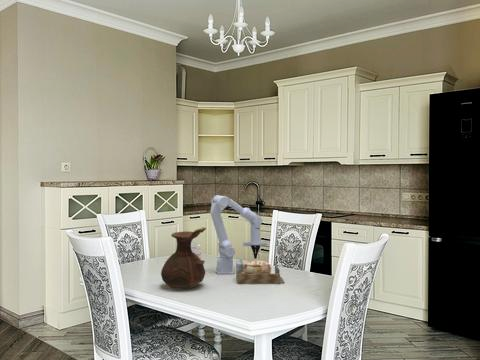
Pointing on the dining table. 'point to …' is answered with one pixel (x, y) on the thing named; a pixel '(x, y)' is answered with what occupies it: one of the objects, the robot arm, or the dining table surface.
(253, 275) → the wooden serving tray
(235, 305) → the dining table surface
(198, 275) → the jug
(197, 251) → the ink box
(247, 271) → the trinket box
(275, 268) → the bookend
